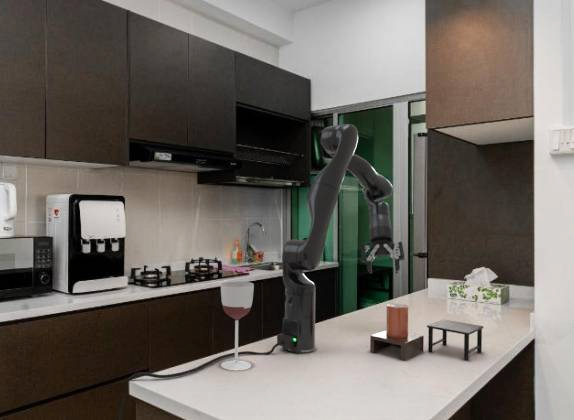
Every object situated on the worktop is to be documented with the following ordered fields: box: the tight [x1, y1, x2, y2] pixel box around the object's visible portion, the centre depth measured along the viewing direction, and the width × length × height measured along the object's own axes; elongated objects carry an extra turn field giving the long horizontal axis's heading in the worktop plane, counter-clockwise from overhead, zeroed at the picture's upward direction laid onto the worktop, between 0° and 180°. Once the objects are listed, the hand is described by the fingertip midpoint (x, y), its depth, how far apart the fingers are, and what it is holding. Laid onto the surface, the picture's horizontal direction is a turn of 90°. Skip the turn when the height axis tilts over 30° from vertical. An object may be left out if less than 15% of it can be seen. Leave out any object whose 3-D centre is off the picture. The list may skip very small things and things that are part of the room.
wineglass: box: [220, 281, 255, 371], centre depth 129 cm, size 9×10×22 cm
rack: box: [426, 318, 484, 362], centre depth 143 cm, size 12×12×8 cm
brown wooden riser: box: [369, 329, 425, 361], centre depth 142 cm, size 12×11×5 cm
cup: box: [385, 303, 409, 338], centre depth 142 cm, size 6×6×9 cm
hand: (383, 271), depth 161 cm, fingers open, 8 cm apart
